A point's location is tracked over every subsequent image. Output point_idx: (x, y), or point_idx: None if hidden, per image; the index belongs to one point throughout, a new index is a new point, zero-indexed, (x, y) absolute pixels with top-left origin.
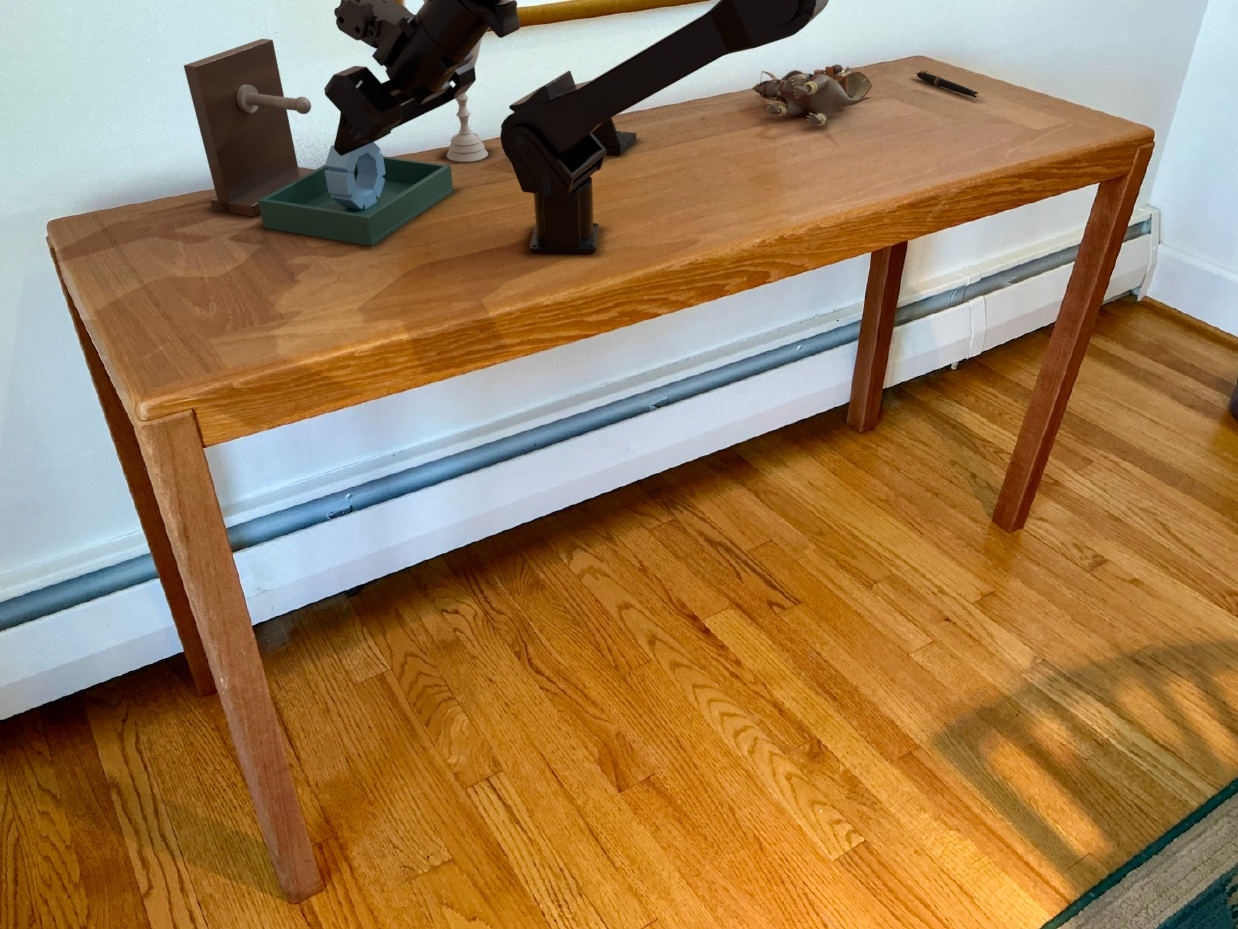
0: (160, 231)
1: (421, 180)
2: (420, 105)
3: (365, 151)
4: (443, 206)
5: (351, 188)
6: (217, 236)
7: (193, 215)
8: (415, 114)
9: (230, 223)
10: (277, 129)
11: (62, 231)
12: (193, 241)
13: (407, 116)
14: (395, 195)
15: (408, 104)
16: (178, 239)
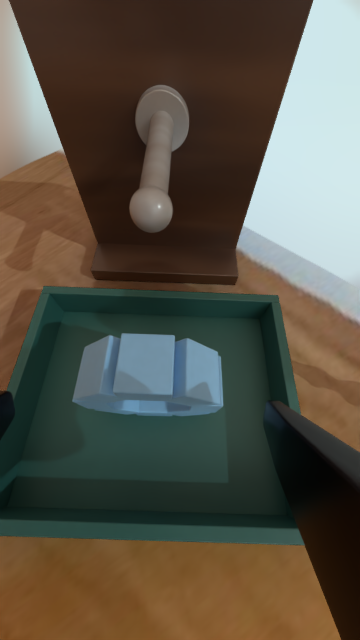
0: (40, 222)
1: (205, 528)
2: (354, 619)
3: (158, 400)
4: (219, 552)
5: (96, 407)
6: (30, 275)
7: (88, 225)
8: (313, 556)
9: (71, 267)
10: (220, 196)
11: (33, 163)
12: (14, 261)
13: (296, 504)
14: (213, 430)
15: (329, 529)
16: (19, 246)
